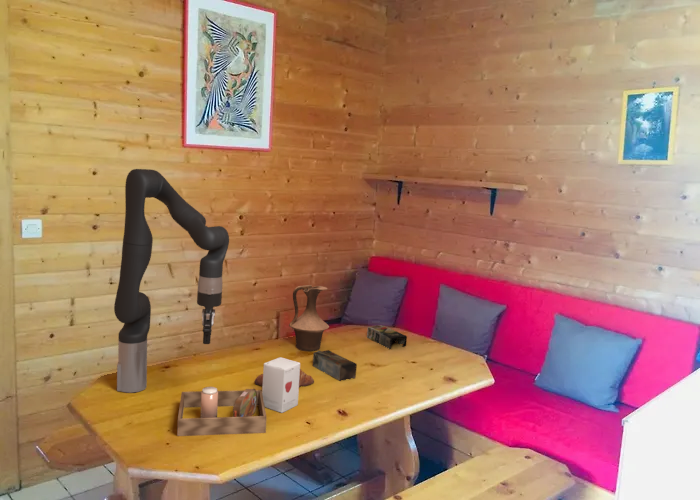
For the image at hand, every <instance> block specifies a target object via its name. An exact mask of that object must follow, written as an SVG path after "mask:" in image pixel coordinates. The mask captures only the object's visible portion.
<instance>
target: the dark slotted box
mask: <svg viewBox="0 0 700 500" xmlns="http://www.w3.org/2000/svg"><path fill="white" fill-rule="evenodd" d="M366 334H367V335H366V338H367V339H369V340H371V341H373V342H375V343H377V344H378V343H379V344H378V345H380V344H381V346H382V345H383V346H382V347H384V346H385V347H384V348H386V347H387V348H386V349H388V348H389V349H388V350H390V349H391V350H392V344H393V342H394V341H396V342H395V343H397V344H398V345H400V344H401V347H404V346H406V347H407V343H408V342H407V341H408V340H407V339H408V336H407V335H405V334H403V333H402V332H401V333H400V332H398V331H396V330H394V329H392V328H390V327H387V326H385V325H383V324H382V325H378V324H377V325H373V326H367V331H366ZM393 340H394V341H393Z"/></svg>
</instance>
